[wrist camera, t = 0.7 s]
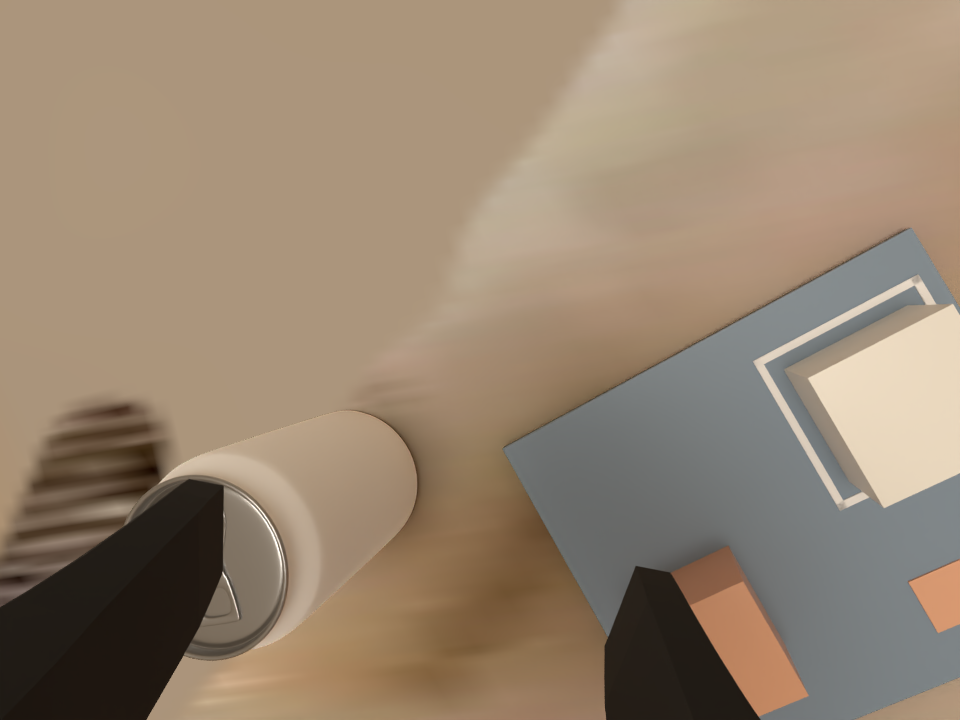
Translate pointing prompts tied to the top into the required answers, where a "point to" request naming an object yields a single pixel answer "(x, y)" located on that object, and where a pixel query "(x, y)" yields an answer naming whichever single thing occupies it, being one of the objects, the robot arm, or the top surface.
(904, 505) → the board
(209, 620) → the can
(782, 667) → the terracotta block
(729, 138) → the top surface
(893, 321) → the base block
